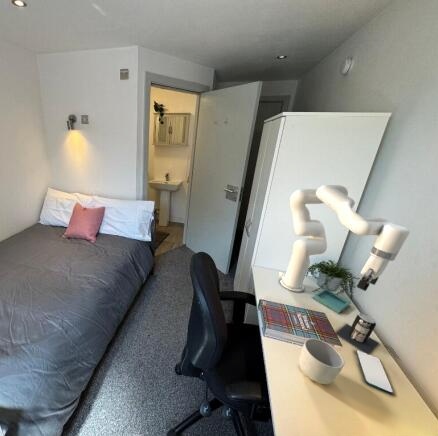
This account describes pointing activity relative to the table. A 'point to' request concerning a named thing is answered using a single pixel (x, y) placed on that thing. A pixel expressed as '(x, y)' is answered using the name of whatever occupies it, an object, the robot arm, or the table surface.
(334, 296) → the tray
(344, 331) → the mat
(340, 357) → the planter
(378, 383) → the smartphone
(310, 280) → the table surface
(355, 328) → the beverage can
